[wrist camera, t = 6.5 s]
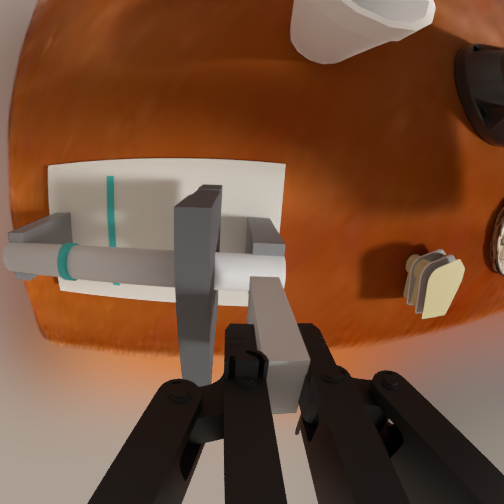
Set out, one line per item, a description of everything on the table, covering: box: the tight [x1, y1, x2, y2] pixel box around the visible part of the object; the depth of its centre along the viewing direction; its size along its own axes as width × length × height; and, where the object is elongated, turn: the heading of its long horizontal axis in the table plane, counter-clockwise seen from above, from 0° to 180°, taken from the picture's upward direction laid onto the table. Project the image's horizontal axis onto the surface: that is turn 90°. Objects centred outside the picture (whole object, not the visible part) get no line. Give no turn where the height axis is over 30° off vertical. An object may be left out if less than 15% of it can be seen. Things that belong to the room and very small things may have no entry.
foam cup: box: [290, 0, 436, 64], centre depth 15 cm, size 10×9×13 cm
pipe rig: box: [3, 158, 286, 306], centre depth 21 cm, size 14×24×11 cm, turn 86°
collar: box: [174, 184, 223, 387], centre depth 17 cm, size 10×2×11 cm, turn 176°
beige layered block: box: [403, 249, 465, 319], centre depth 27 cm, size 10×9×6 cm
